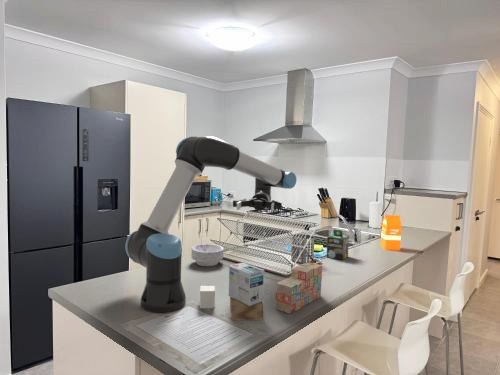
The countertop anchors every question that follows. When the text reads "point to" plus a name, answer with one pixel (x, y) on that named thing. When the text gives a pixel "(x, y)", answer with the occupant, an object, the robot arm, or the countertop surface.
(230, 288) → the light bulb box
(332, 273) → the countertop surface
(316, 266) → the stack of blocks
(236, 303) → the walnut block
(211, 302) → the off-white block
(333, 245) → the chalk box
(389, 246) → the orange juice
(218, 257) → the paper bowls
